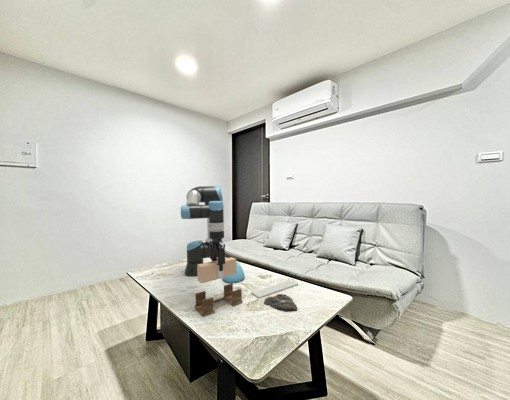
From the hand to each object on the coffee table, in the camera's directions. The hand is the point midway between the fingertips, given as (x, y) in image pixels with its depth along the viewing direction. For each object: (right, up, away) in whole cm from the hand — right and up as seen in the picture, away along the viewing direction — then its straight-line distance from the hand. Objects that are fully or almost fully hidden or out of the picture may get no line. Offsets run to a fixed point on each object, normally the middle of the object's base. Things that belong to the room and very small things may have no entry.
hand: (217, 275), depth 112 cm
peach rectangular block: (0, -1, 0) cm, 1 cm away
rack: (+1, -15, 0) cm, 15 cm away
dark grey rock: (+34, -15, +1) cm, 37 cm away
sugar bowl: (+5, -15, +36) cm, 39 cm away
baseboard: (+31, -15, +19) cm, 39 cm away
